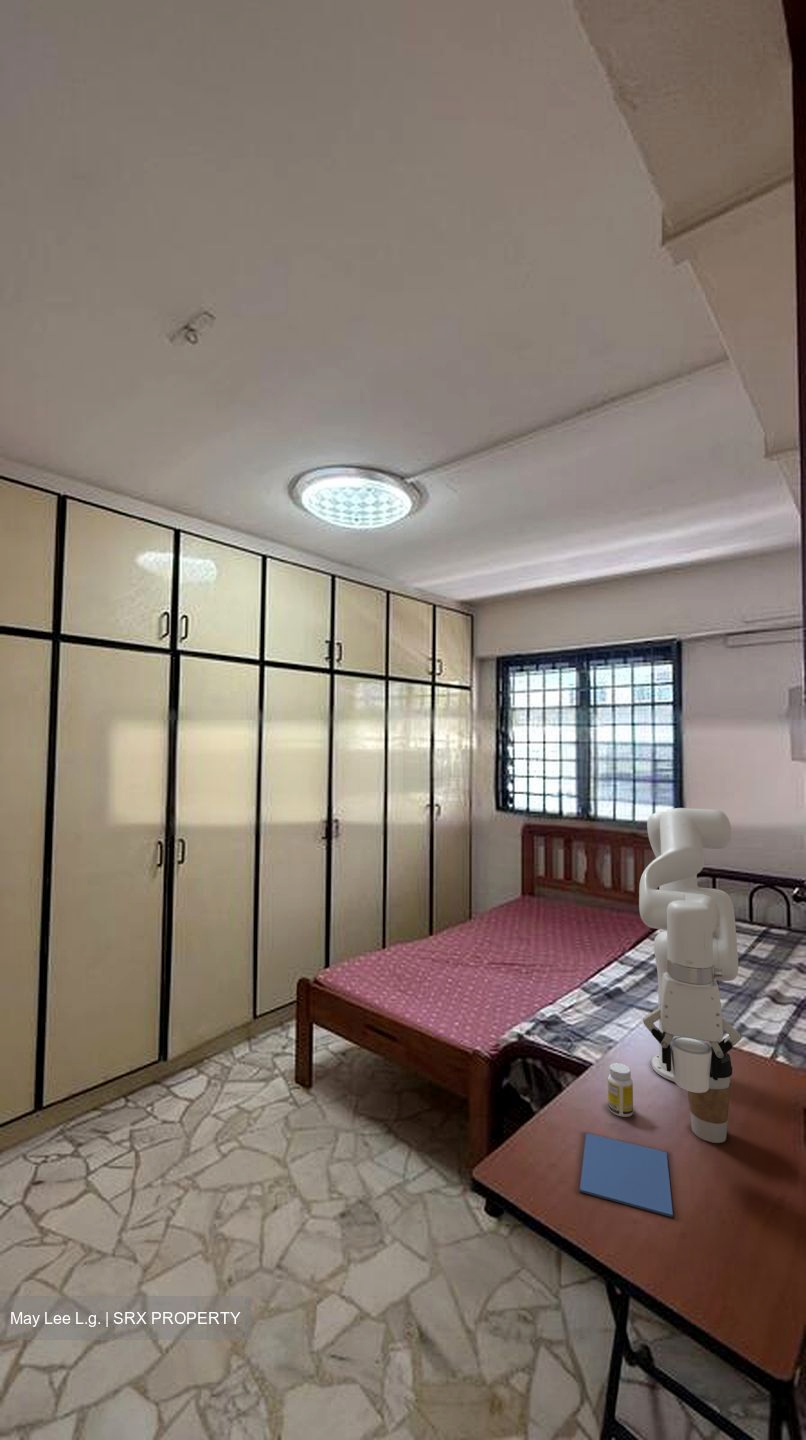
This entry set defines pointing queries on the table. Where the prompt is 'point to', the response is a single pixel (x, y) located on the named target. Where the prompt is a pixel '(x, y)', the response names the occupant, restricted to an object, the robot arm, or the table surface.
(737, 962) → the robot arm
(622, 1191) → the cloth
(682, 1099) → the table surface
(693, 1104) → the coffee cup
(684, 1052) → the white cup
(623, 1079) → the supplement bottle
